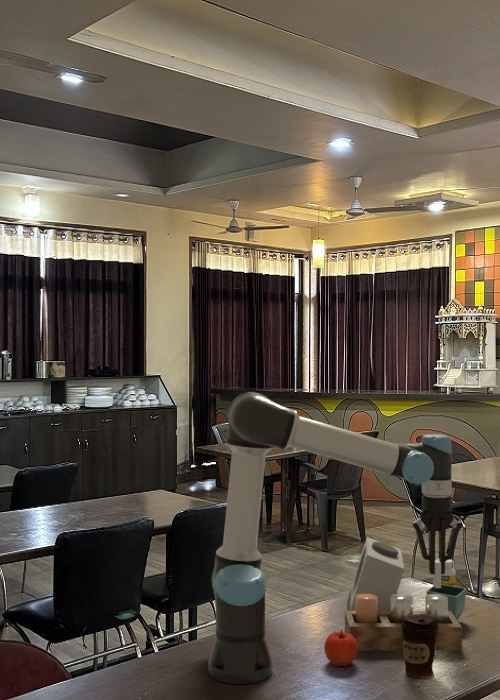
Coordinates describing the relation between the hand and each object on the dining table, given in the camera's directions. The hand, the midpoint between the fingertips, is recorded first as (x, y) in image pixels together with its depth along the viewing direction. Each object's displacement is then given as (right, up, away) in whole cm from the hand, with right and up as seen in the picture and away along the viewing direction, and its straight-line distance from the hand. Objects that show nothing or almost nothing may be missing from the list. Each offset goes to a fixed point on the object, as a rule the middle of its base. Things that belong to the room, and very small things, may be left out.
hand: (437, 586), depth 203 cm
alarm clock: (-13, -15, +22) cm, 29 cm away
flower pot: (+6, -15, +15) cm, 22 cm away
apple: (-26, -15, -13) cm, 33 cm away
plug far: (0, -10, 0) cm, 10 cm away
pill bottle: (+11, -14, +35) cm, 39 cm away
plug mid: (-9, -10, 0) cm, 13 cm away
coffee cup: (-9, -15, -20) cm, 26 cm away
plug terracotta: (-18, -10, 0) cm, 21 cm away
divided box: (-9, -14, 0) cm, 17 cm away
